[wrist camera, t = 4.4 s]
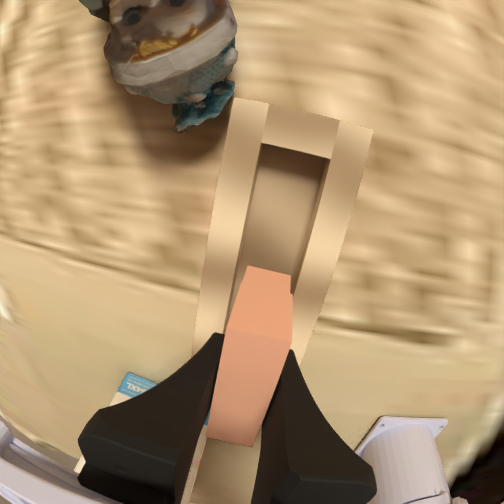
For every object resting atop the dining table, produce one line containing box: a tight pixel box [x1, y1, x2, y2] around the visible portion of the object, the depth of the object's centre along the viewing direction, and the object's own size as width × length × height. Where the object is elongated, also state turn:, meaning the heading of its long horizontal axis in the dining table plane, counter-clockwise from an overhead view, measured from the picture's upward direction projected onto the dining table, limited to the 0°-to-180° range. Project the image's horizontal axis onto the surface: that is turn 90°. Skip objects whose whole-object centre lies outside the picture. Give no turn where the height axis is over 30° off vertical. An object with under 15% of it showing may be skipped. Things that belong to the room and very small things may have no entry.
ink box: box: [74, 372, 211, 504], centre depth 21 cm, size 9×8×13 cm
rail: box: [191, 97, 373, 366], centre depth 19 cm, size 20×7×2 cm, turn 169°
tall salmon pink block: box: [205, 265, 293, 447], centre depth 13 cm, size 6×2×6 cm, turn 169°
